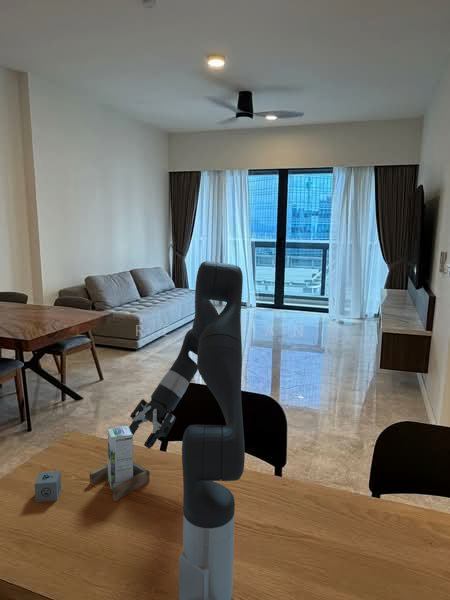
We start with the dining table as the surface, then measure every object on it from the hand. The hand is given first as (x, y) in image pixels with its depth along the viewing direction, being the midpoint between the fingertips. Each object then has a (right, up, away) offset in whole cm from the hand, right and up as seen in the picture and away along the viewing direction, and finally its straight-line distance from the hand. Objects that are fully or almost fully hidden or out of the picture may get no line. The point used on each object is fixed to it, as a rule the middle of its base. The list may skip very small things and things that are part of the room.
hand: (137, 441), depth 117 cm
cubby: (-4, -10, -3) cm, 11 cm away
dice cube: (-21, -11, -9) cm, 25 cm away
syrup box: (-4, -10, -3) cm, 11 cm away
